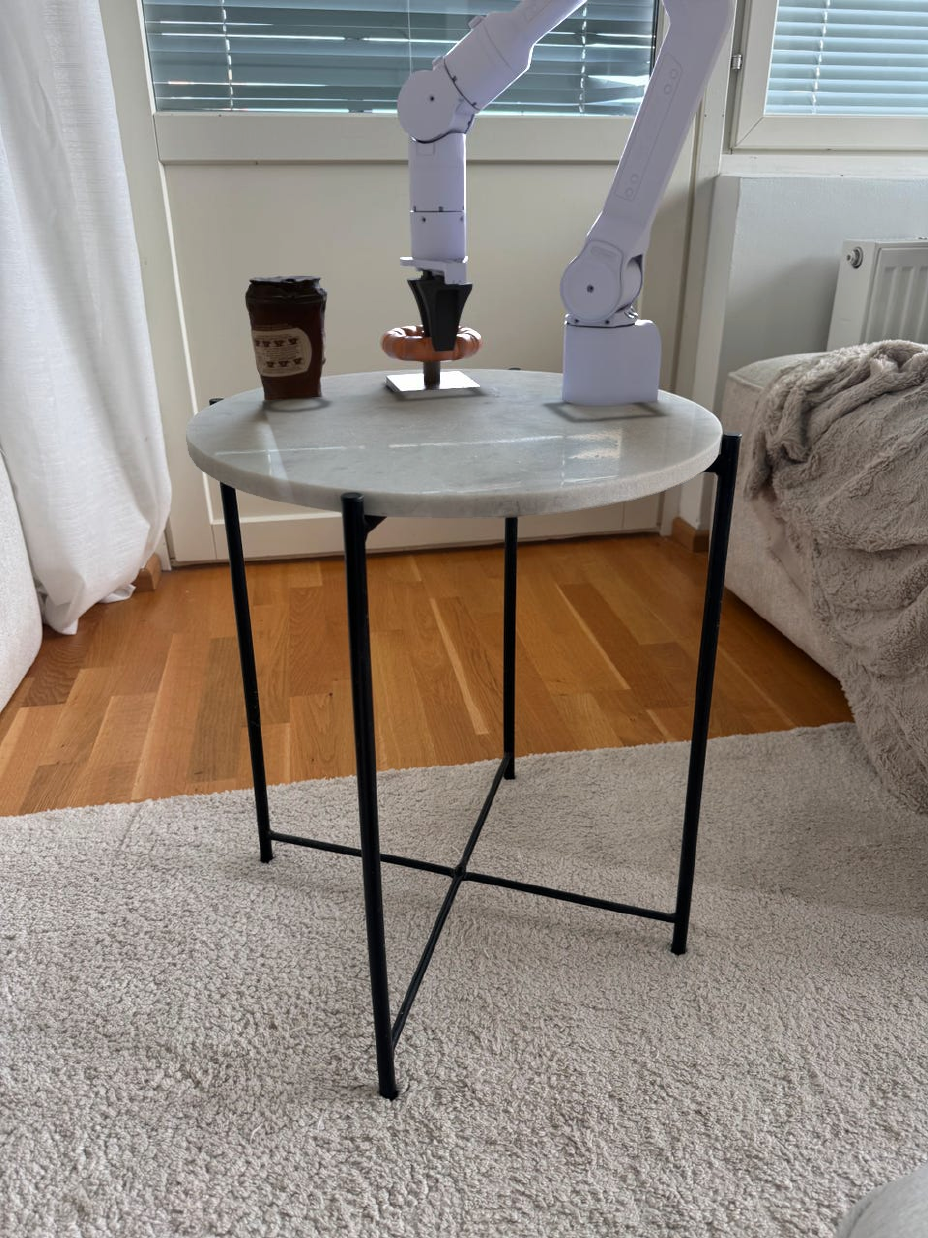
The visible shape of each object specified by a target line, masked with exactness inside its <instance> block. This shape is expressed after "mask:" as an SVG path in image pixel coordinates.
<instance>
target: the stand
mask: <svg viewBox="0 0 928 1238" xmlns="http://www.w3.org/2000/svg"><path fill="white" fill-rule="evenodd" d="M422 337H425V336H424V332H423V331H422ZM441 370H442V367H441V362H422V373H411V374H395V375H386V376H385V378H386V379H385V380H386V385H387V386H388V387H389V388H390V389H391V390H392V392H393V393H407V392H421V391H422V392H423V391H437V390H451V389H454V390H455V389H467V388H481V385H479V384H477V383H476V382H475V381H473V379H471V378H469V377H468V376H466V375H465V374H464V373H462V372H461V371H446V372H445V371H443V372H442V371H441Z"/></svg>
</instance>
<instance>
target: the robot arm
mask: <svg viewBox="0 0 928 1238" xmlns="http://www.w3.org/2000/svg"><path fill="white" fill-rule="evenodd" d="M587 1H588V0H520V2H519V3H518V4H517V5H516V6H515V8H514V9H512V10H511V12H503V11H497V10H495V11H494V10H493V11H490V12H489V13H488V14H487V15H486V16H483V15H482V14H476V15H475V17H473V18H472V20H471V21H470V22H469V23H468V26H469V28H470V31H469V32H468V33H467V34H465V36H464V37H463V38H462V39H461V40H460V41H459V42H458V43H457V44H456V45H455V46H453V48H452V49H450V51H449V52H447V54H446V55H444V56H443V55H438V56H437V57H435V59H434V60H432V62H431V64H432V66H433V68H432V70H427V69H423V70H422V69H421V70H417V71H414V72H413V73H411V74H409V76H408V78H407V80H406V81H405V83H403V84H402V87H401V89H400V91H399V94H398V96H397V102H396V112H397V117H398V121H399V124H400V125H401V127H402V129H403V130H404V131H405V133H406V134H407V153H408V154H407V155H408V161H407V162H408V163H407V165H408V195H409V196H408V197H409V227H410V228H409V230H410V257H409V256H408V257H400V258H399V265H400V266H403V267H412V268H414V272H418V273H419V272H422V274H421V275H420V277H410V278H407V279H406V283H407V285H408V287H409V288H410V290H411V293H412V295H413V297H414V300H415V303H416V306H417V309H418V313H419V317H420V323H421V325H422V327H423V332H424V336H425V337H431V341H432V345H433V349H434V351H436V352H438V351H454V348H455V344H456V339H457V334H458V329H459V327H460V323H461V319H462V314H463V312H464V308H465V305H466V304H467V301H468V299H469V297H470V294H471V293H472V290H473V286H474V285H473V283H472V282H470V281H467V267H468V265H469V257H468V256H467V213H466V212H467V210H466V208H467V205H466V203H467V201H466V200H467V199H466V198H467V197H466V196H467V195H466V194H467V191H466V186H467V185H466V182H467V181H466V176H467V175H466V171H467V170H466V138H467V136H468V135H469V133H470V131H471V130H472V127H473V125H474V122H475V118H476V115H477V114H480V113H481V112H482V111H483V110H485V108H486V107H487V106H488V105H490V104H491V103H492V102H493V101H494V100H495V99H497V97H499V96H500V95H501V94H502V93H503V92H504V91H505V90H507V88H509V87H510V86H511V85H512V84H513V83H514V82H515V81H516V80H518V79H519V78H520V77H521V76H522V75H523V73H525V72H526V71H527V70H529V68H530V64H531V59H532V54H533V49H534V47H535V44H536V43H538V42H539V41H540V40H541V39H543V37H545V36H546V35H547V34H548V33H550V32H551V31H552V30H553V29H554V28H556V27H557V26H559V25H560V24H561V23H562V22H563V21H564V20H566V18H568V17H569V16H570V15H572V13H574V12H575V11H576V10H577V9H579V8H580V7H581V6H582V5H583V4H585V3H586V2H587ZM661 2H662V5H663V7H664V9H665V12H666V14H667V16H668V20H669V25H668V28H667V31H666V34H665V37H664V39H663V42H662V44H661V47H660V50H659V53H658V55H657V59H656V61H655V64H654V67H653V70H652V73H651V74H650V77H649V80H648V83H647V86H646V88H645V92H644V94H643V97H642V99H641V102H640V105H639V107H638V110H637V113H636V116H635V118H634V122H633V125H632V127H631V130H630V133H629V134H628V138H627V140H626V144H625V147H624V148H623V151H622V155H621V157H620V160H619V163H618V166H617V168H616V172H615V174H614V177H613V179H612V182H611V185H610V187H609V191H608V193H607V196H606V198H605V201H604V204H603V207H602V210H601V212H600V214H599V215H598V217H597V219H596V220H595V222H594V223H593V225H591V228H590V230H589V231H588V233H587V235H586V236H585V239H584V242H583V246H582V247H581V249H580V251H579V252H578V254H577V255H576V256H575V257H574V258H573V259H572V260H571V261H570V262H569V263H568V264H567V265H566V267H565V268H564V270H563V272H562V275H561V278H560V281H559V296H560V301H561V303H562V305H563V307H564V308H565V311H567V312H568V314H566V315H564V329H563V330H564V332H563V334H564V335H563V358H562V359H563V361H562V380H561V381H562V385H561V386H562V387H561V400H563V401H564V402H566V403H569V404H574V405H578V406H585V407H586V406H587V407H613V406H620V405H626V404H627V405H628V404H636V403H648V402H649V403H650V402H657V401H658V399H659V387H660V376H661V375H660V374H661V365H662V339H661V338H662V337H661V333H660V331H659V328H658V326H657V325H656V323H654V322H653V321H652V320H649V319H648V320H647V319H642V320H641V319H638V314H637V312H636V309H635V308H634V306H633V304H634V303H635V302H636V300H638V298H639V296H640V295H641V292H642V290H643V287H644V281H645V274H644V264H645V263H644V262H645V259H646V255H647V253H648V250H649V247H650V243H651V242H650V241H651V229H652V226H653V223H654V221H655V219H656V216H657V213H658V211H659V208H660V206H661V203H662V202H663V201H662V200H663V198H664V195H665V194H666V191H667V188H668V186H669V183H670V180H671V178H672V175H673V173H674V171H675V168H676V166H677V163H678V161H679V158H680V156H681V153H682V150H683V147H684V145H685V143H686V140H687V137H688V135H689V133H690V130H691V128H692V125H693V123H694V120H695V117H696V115H697V113H698V109H699V107H700V105H701V103H702V99H703V97H704V94H705V92H706V89H707V87H708V85H709V82H710V80H711V76H712V74H713V72H714V69H715V67H716V64H717V62H718V59H719V56H720V54H721V51H722V49H723V46H724V43H725V42H726V39H727V36H728V34H729V31H730V29H731V26H732V23H733V18H734V2H733V0H661Z"/></svg>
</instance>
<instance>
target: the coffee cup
mask: <svg viewBox="0 0 928 1238" xmlns="http://www.w3.org/2000/svg"><path fill="white" fill-rule="evenodd" d="M321 279H322V278H321V277H320V276H314V275H291V276H282V275H279V276H273V277H262V276H261V277H251V278H250V279H249V280H248V281H249V283H250V284H249V285H248V288H247V290H246V292H245V296H244V299H245V300H244V302H245V308H246V310H247V312H248V317H249V324H250V330H251V331H250V334H251V340H252V347H253V350H254V352H253V353H254V357H255V363H256V369H257V372H258V373H259V378H260V381H261V385H262V390H263V399H264V402H269V401H270V402H271V401H283V400H299V399H300V400H301V399H314V398H317V399H318V398H324V395H323V393H322V383H321V379H322V374H323V367H324V366H325V364H326V361H327V359H326V347H327V346H326V345H327V341H326V340H327V339H326V338H327V336H326V328H325V320H326V319H325V318H326V310H327V300H328V291H327V290H326V288H324V287H323V286H321V284H320V281H321Z"/></svg>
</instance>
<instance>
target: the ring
mask: <svg viewBox="0 0 928 1238" xmlns="http://www.w3.org/2000/svg"><path fill="white" fill-rule="evenodd" d="M422 331H423V327H422V324H421V325H409V326H401V327H396V328H392V329H391V330H389V331H388V330H387V331H386V332H385V333H384V334H382V335H381V337H380V341H379V345H380V348H381V350H382V352H384V354H385V355H387V357H389V358H391V359H394V360H399V361H405V362H414V363H415V362H416V363H417V362H418V363H423V362H440V363H441V362H454V361H460V360H464V359H465V360H466V359H469V358H471V357H473V356H474V355H477V353H479V352H480V351H481V349H482V347H483V339H482V337H481V335H480V334H479V333H478V332H477V331H476V330H473V329H472V328H469V327H465V326H459V329H458V334H457V339H456V344H455V348H454V351H438V352H436V351H434V349H433V345H432V341H431V337H422Z"/></svg>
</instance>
